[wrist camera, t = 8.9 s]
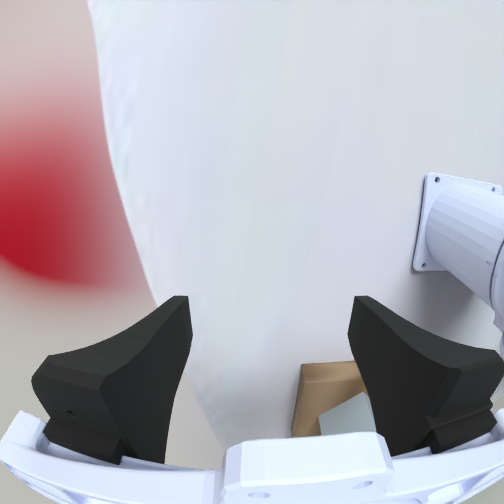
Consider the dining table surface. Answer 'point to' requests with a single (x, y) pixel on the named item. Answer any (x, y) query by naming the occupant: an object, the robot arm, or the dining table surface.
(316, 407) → the plinth
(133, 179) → the dining table surface
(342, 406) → the block
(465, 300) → the dining table surface
